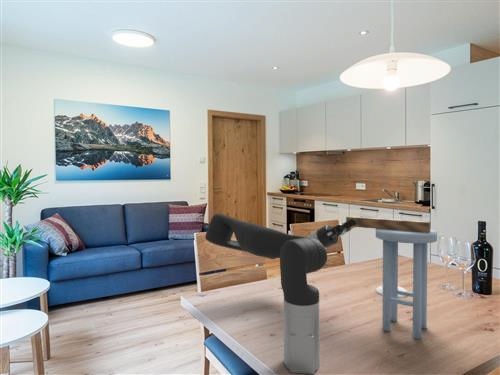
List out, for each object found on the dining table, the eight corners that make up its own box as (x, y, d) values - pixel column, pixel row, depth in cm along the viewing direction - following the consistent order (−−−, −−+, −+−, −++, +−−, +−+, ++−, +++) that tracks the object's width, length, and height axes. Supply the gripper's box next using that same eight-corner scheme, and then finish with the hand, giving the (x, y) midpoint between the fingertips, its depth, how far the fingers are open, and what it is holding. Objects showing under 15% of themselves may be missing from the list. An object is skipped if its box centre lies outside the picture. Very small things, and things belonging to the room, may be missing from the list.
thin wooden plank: (430, 231, 107) (430, 221, 107) (428, 233, 105) (428, 222, 105) (349, 225, 123) (349, 216, 123) (346, 226, 120) (346, 217, 120)
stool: (440, 325, 113) (441, 229, 112) (430, 347, 99) (431, 237, 98) (383, 312, 124) (384, 224, 123) (367, 330, 109) (368, 231, 108)
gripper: (334, 245, 132) (371, 227, 124) (318, 251, 121) (357, 232, 112) (325, 227, 134) (360, 208, 126) (308, 232, 123) (346, 212, 114)
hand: (359, 219), depth 119 cm, fingers open, 8 cm apart
